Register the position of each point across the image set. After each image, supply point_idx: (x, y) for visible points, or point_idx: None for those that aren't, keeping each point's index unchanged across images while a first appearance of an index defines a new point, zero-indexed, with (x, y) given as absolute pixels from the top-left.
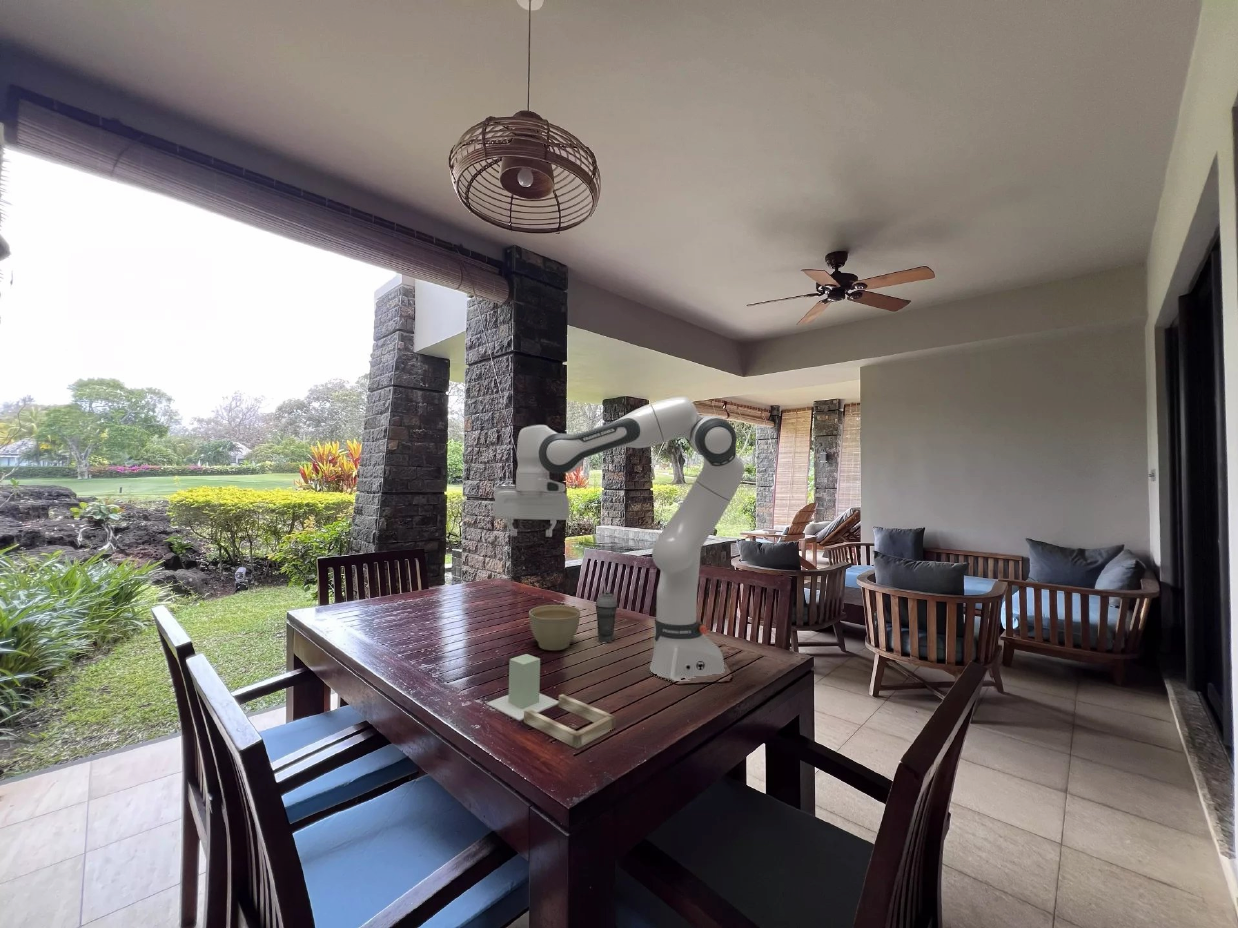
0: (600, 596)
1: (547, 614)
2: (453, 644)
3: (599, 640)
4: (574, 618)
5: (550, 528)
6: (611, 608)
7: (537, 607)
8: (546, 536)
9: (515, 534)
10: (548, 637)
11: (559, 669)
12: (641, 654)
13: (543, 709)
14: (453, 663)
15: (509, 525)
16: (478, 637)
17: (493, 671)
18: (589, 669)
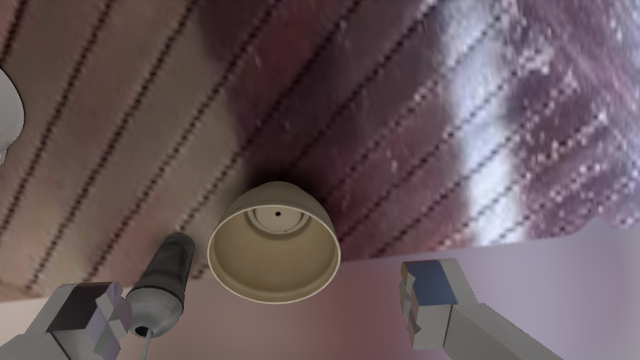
0: (159, 319)
1: (304, 279)
2: (493, 189)
3: (189, 240)
4: (214, 229)
5: (20, 350)
6: (134, 289)
7: (326, 282)
8: (112, 282)
9: (409, 266)
10: (278, 184)
11: (228, 76)
12: (76, 184)
13: None
14: (477, 82)
15: (513, 338)
16: (447, 231)
17: (377, 45)
18: (159, 84)
